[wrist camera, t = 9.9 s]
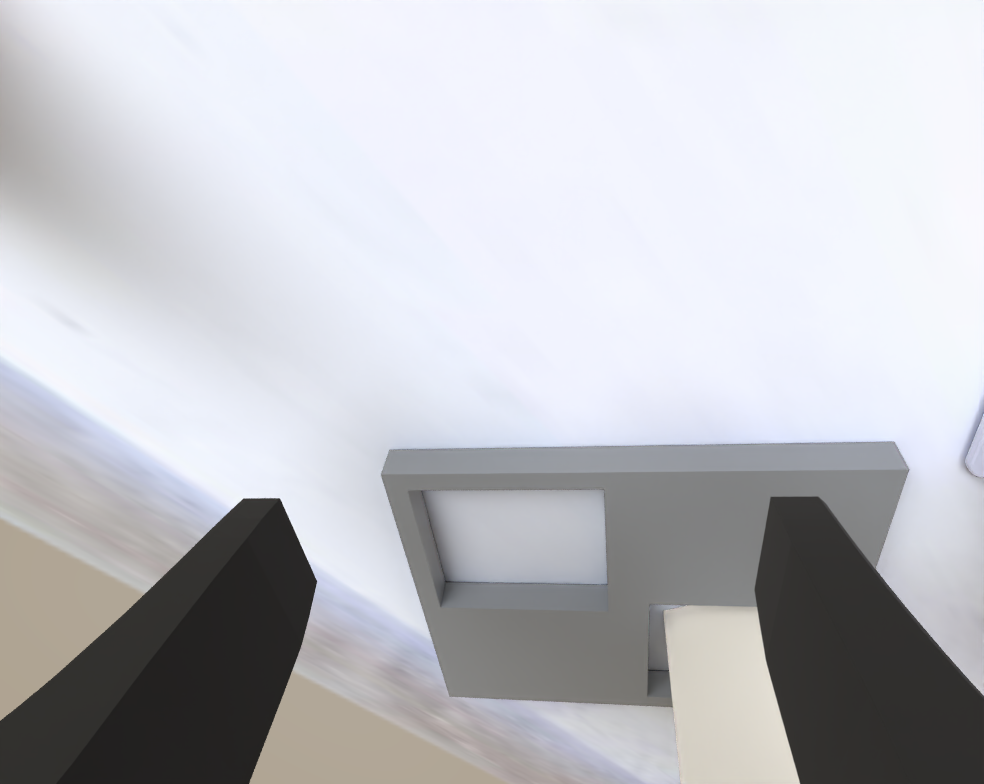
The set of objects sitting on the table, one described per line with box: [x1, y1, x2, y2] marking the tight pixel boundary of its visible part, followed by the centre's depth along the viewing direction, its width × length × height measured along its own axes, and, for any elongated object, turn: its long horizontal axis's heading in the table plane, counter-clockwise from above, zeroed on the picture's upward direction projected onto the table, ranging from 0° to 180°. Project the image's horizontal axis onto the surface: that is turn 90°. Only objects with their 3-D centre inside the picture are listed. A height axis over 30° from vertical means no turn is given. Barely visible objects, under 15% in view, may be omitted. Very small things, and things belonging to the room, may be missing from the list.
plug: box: [663, 605, 800, 784], centre depth 24 cm, size 4×4×8 cm
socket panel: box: [381, 442, 909, 707], centre depth 25 cm, size 16×14×1 cm
